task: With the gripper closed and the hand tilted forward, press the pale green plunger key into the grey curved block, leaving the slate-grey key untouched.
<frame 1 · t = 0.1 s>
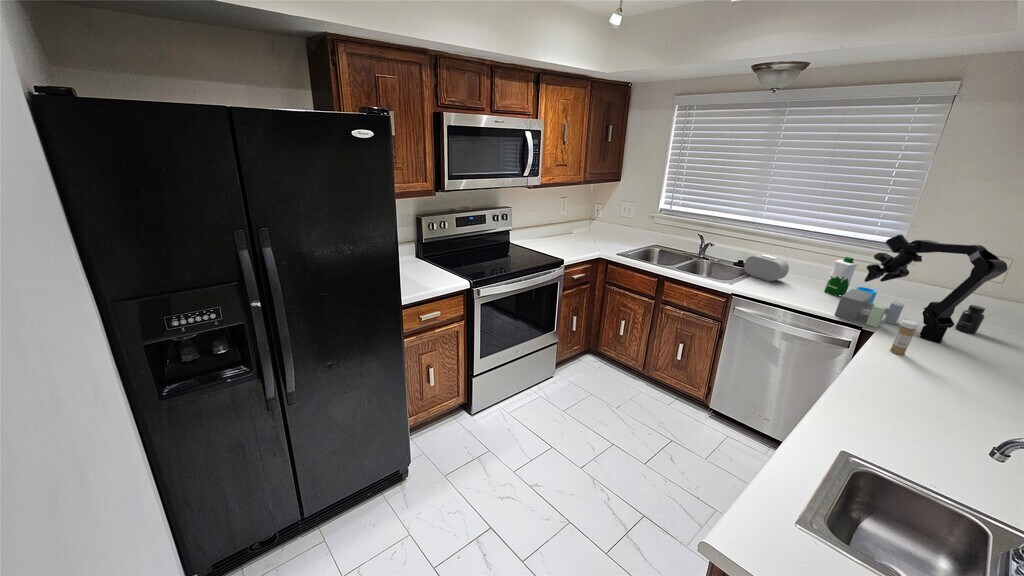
hand: (873, 281, 200), 15 cm above the worktop, tool tilted 35°, fingers open, 9 cm apart
green key: (862, 311, 190), point 5 cm above the worktop, slide at 0.0 cm
mug: (860, 303, 213), on the worktop
grey curved block: (850, 314, 199), on the worktop
milk carton: (834, 293, 225), on the worktop
sprinkles bottle: (896, 353, 164), on the worktop
grey key: (877, 308, 195), point 5 cm above the worktop, slide at 0.0 cm
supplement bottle: (964, 331, 187), on the worktop
grey rounded oblong block: (763, 278, 245), on the worktop
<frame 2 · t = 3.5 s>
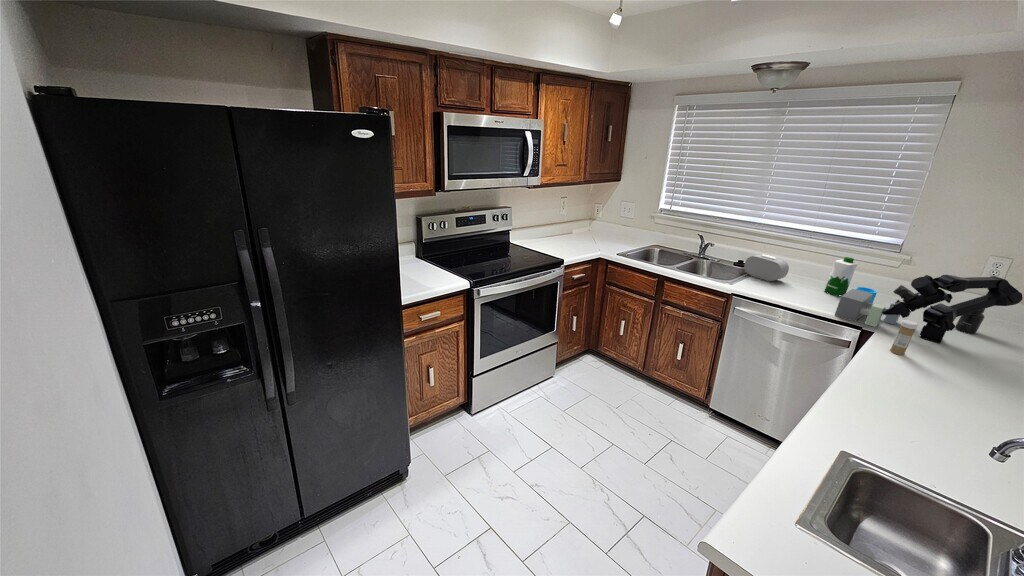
hand: (882, 313, 184), 7 cm above the worktop, tool tilted 45°, fingers closed
green key: (861, 311, 190), point 5 cm above the worktop, slide at 0.5 cm, touching gripper
everything else where it was.
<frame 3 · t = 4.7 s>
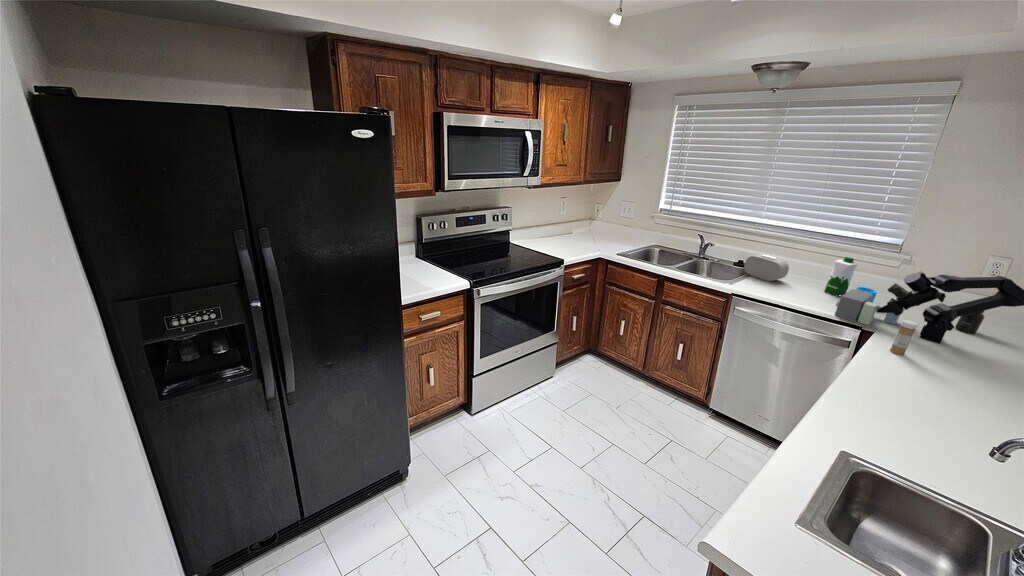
hand: (877, 311, 186), 7 cm above the worktop, tool tilted 45°, fingers closed
green key: (854, 309, 192), point 5 cm above the worktop, slide at 3.2 cm
everything else where it was.
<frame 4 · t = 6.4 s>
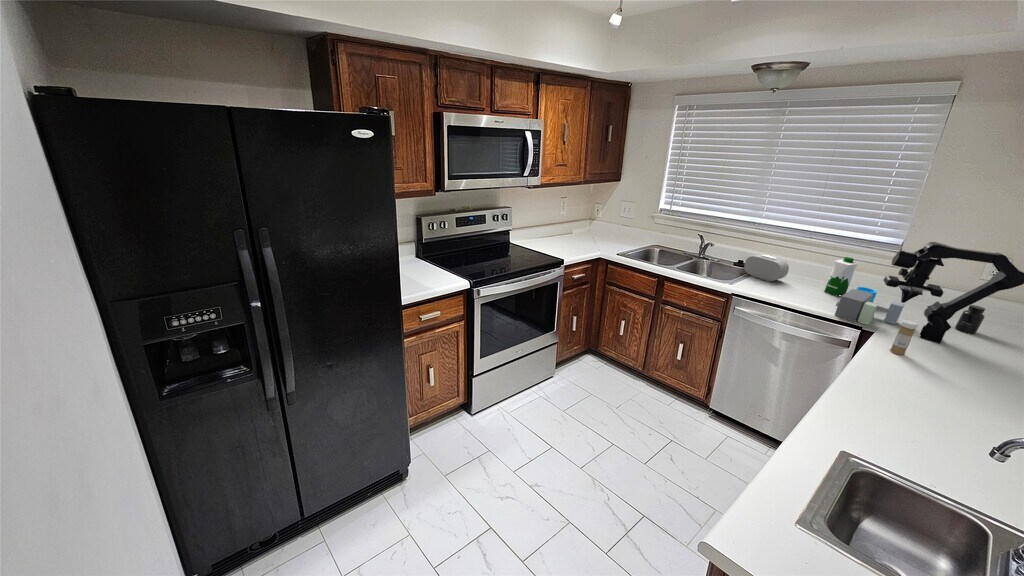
hand: (902, 302, 181), 13 cm above the worktop, tool pointing down, fingers closed
nothing on the worktop moved.
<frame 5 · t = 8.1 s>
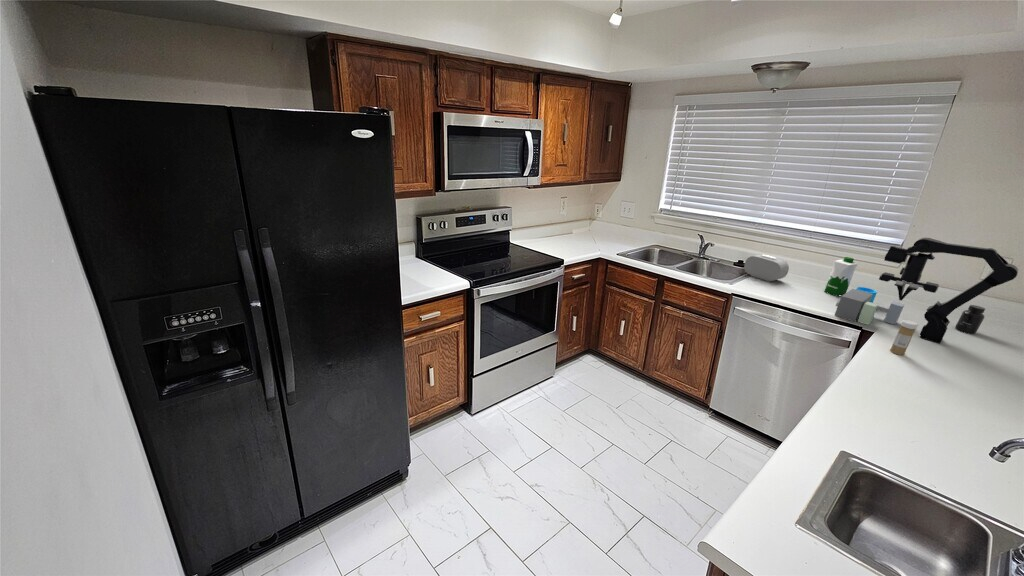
hand: (900, 300, 182), 13 cm above the worktop, tool pointing down, fingers closed
nothing on the worktop moved.
at the end: green key slide at 3.2 cm; grey key slide at 0.0 cm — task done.
